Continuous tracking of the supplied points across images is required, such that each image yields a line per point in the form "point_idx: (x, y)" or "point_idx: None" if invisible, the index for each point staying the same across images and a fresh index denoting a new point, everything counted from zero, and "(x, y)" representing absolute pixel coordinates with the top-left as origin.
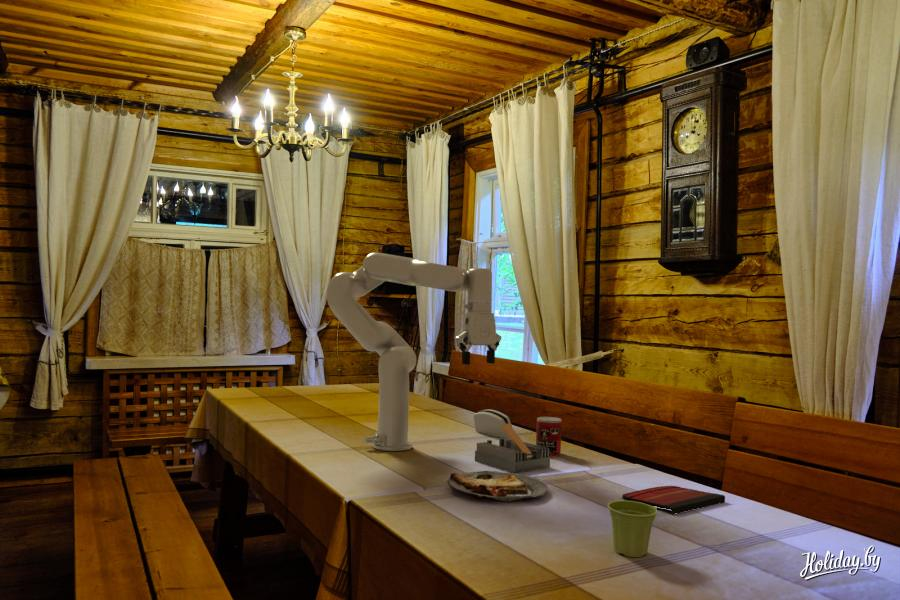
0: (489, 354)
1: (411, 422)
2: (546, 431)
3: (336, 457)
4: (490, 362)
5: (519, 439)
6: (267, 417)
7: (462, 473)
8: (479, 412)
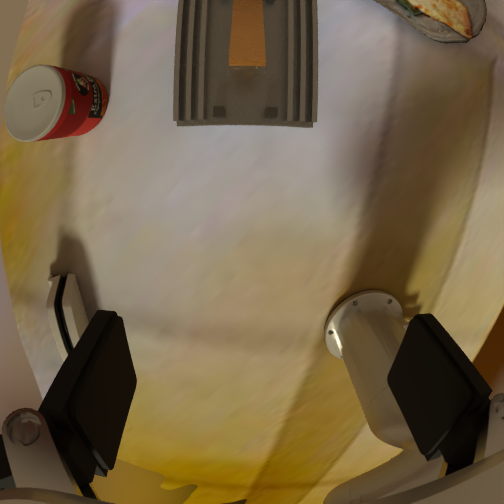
0: (107, 416)
1: (182, 445)
2: (75, 77)
3: (473, 296)
4: (126, 342)
5: (238, 17)
6: None
7: (438, 38)
8: None
